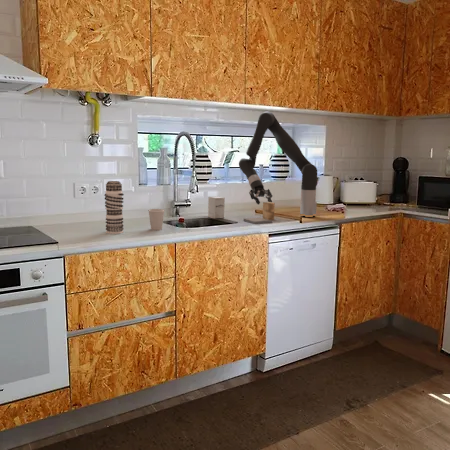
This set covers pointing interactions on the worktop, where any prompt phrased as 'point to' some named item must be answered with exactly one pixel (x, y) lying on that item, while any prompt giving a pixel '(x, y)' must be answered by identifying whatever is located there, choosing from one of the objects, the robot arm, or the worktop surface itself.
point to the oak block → (268, 210)
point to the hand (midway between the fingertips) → (264, 203)
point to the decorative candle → (114, 207)
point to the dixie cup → (156, 218)
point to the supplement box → (216, 207)
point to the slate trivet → (258, 220)
